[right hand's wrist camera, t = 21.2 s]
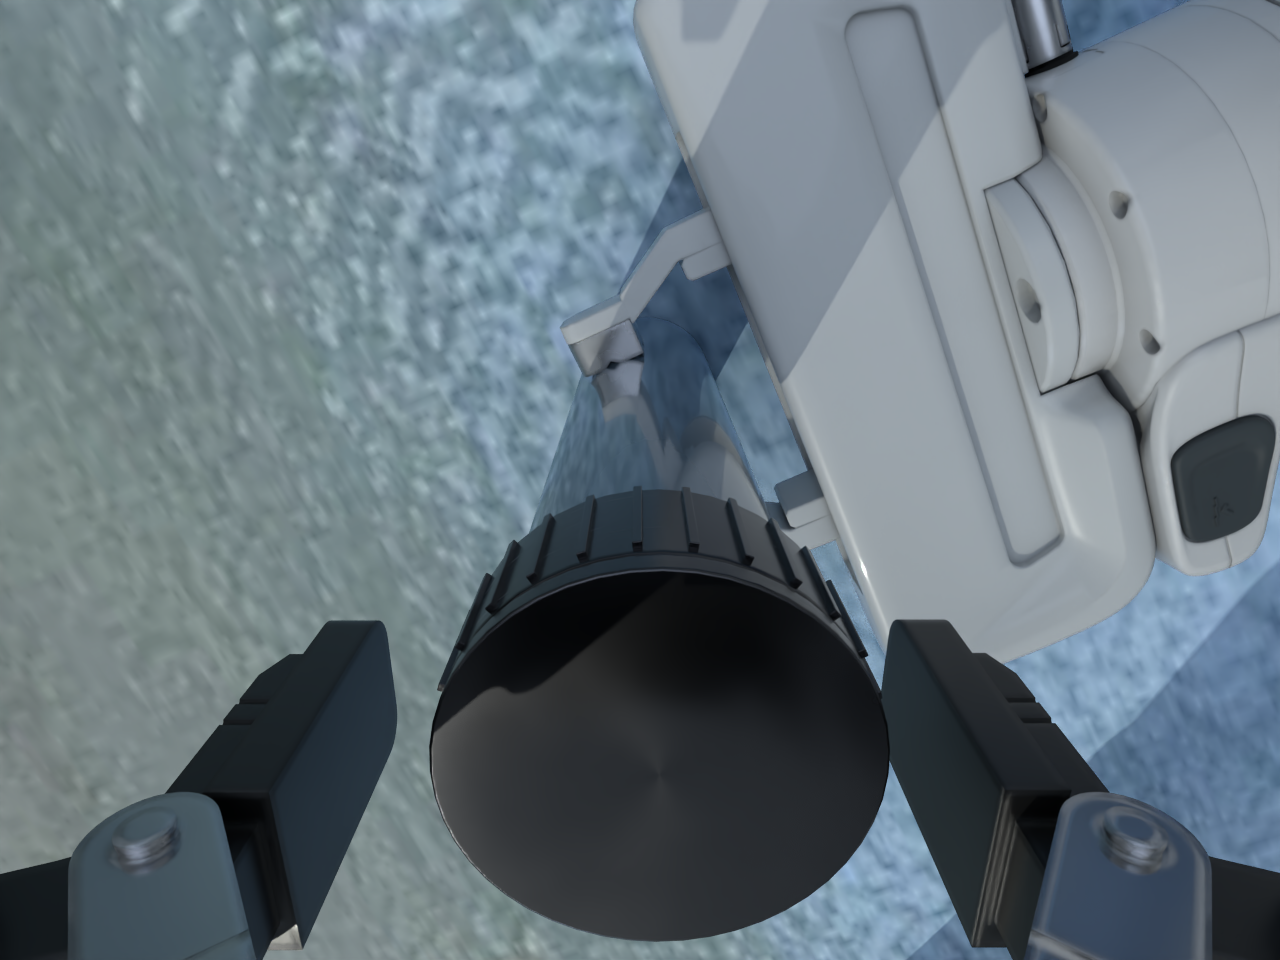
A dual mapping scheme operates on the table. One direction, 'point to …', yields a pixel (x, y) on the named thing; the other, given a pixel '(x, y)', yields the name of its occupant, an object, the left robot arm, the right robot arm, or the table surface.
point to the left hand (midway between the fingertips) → (619, 445)
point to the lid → (658, 721)
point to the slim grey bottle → (650, 430)
